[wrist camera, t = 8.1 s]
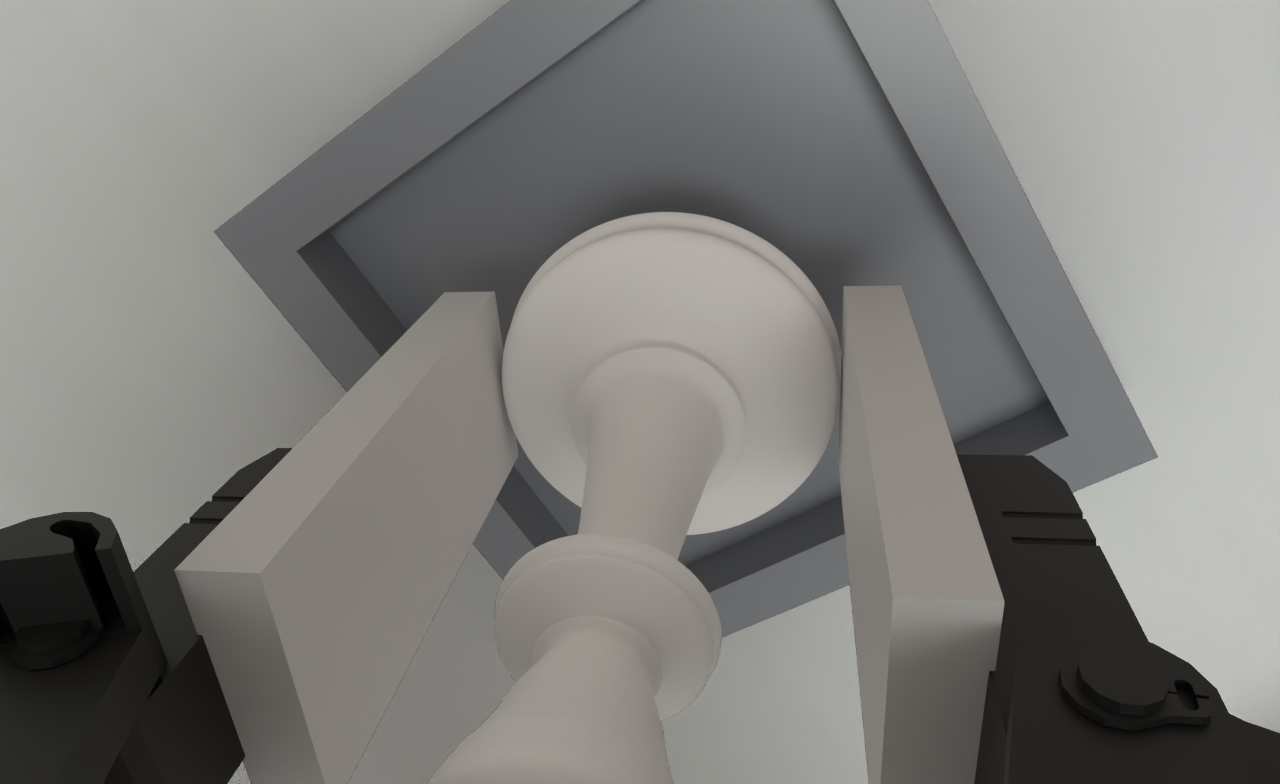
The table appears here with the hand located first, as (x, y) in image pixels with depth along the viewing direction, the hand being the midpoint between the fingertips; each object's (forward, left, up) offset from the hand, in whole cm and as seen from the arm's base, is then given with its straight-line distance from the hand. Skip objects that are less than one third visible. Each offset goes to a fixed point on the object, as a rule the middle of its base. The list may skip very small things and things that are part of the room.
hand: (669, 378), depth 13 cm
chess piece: (0, 0, 0) cm, 0 cm away
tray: (0, 0, -4) cm, 4 cm away
